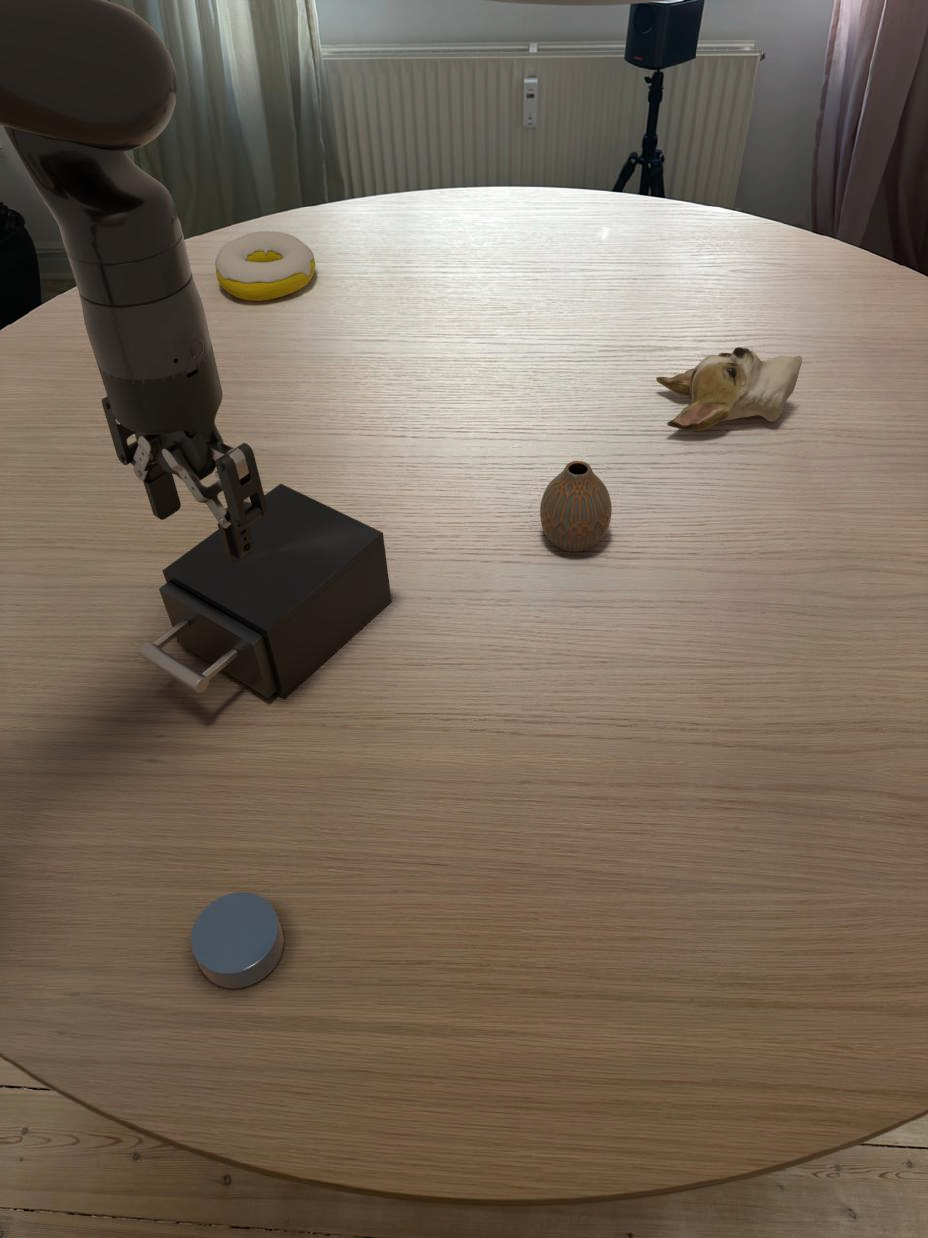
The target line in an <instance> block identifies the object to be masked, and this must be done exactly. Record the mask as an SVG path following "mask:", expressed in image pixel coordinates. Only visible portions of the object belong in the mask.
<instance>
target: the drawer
mask: <svg viewBox="0 0 928 1238" xmlns="http://www.w3.org/2000/svg"><path fill="white" fill-rule="evenodd" d="M158 591H159V593H160V597H161V599H162V602H163V605H164V608H165V610H166V613H167V616H168V619H169V622H170V625H171V628H170V629H169V630H167V631H166V632H165V633H164V634H163V635H161V636H160V637H159V638H157V639H156V640H155V641H153V643H152V642H150V641H146V642H144V643H143V644H142V645H141V646H139V647H140V648H139V649H138V656H140V657H141V658H142V659H144V660H146V661H147V662H149V663H150V664H152V665H153V666H155V667H157V668H158V669H159V670H161V671H163V672H164V673H165V674H167V675H168V676H170V677H172V678H173V679H175V680H176V681H178V682H180V683H181V684H183V685H184V686H186V687H187V688H189V689H190V690H192V691H194V692H195V693H197V694H202V693H203V692H205V691H206V690H207V689H208V687H209V684H210V680H211V679H213V678H214V677H215V676H216V675H217V674H218V673H220V672H221V671H223V672H224V673H226V674H228V675H230V676H231V677H233V678H234V679H236V680H238V681H239V682H241V683H242V684H244V685H246V686H247V687H248V688H251V689H252V690H254V691H255V692H257V693H258V694H260V695H261V696H263V697H265V698H266V699H269V698H270V697H271V696H272V695H274V694H275V693H274V692H275V691H277V686H276V682H275V679H274V675H273V671H272V667H271V664H270V660H269V656H268V652H267V649H266V645H265V641H264V637H263V635H262V633H260V632H258V631H257V630H255V629H253V628H251V627H250V626H248V625H246V624H244V623H243V622H241V621H239V620H238V619H236V618H234V617H232V616H231V615H229V614H227V613H226V612H224V611H222V610H220V609H219V608H217V607H215V606H213V605H212V604H210V603H208V602H207V601H205V600H203V599H201V598H200V597H198V596H196V595H195V594H193V593H192V594H193V595H192V594H191V593H189V592H187V591H185V590H184V589H182V588H180V587H178V586H177V585H175V584H173V583H172V582H170V581H169V582H167V583H165V584H163V585H162V586H161V587H159V588H158ZM174 639H176V642H177V643H178V644H180V645H181V646H183V647H184V648H186V649H188V650H189V651H190V652H192V653H193V654H195V655H197V656H199V657H200V658H202V659H204V660H205V661H207V662H208V663H210V664H211V665H210V666H208V668H207V669H205V671H203V672H202V673H199V672H198V671H197V670H195V669H194V668H192V667H190V666H188V665H187V664H185V663H183V662H182V661H180V660H179V659H177V658H176V657H174V656H173V655H171V654H170V653H168V652H166V651H165V650H163V648H165V646H167V645H168V644H169V643H170V642H171V641H173V640H174Z"/></svg>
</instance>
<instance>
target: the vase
mask: <svg viewBox="0 0 928 1238" xmlns="http://www.w3.org/2000/svg"><path fill="white" fill-rule="evenodd" d="M612 511H613V510H612V500H611V495H610V493H609V491H608V488H607V486H606V484H605V483H604V482H603V481H602V480H601V478H599V476H598V475H596V474H595V473H594V470H593V469H592V467H591V465H590V464H589V463H587V462H585V461H582V460H573V461H570V462H568V463H567V464H566V465H565V467H563V470H562V471H561V472H560V473H559V474H557V475H556V476H555V477H554V478H553V479H552V480H551V481H549V483H548V484H547V486H546V488H545V489H544V492H543V495H542V498H541V501H540V506H539V516H540V517H539V518H540V524H541V528H542V529H543V532H544V534H545V536H546V538H547V539H548V540H549V541H550V542H551V543H552V544H553V545H554V546H556V547H558V548H559V549H561V550H563V551H565V552H566V551H567V552H572V553H577V552H579V553H580V552H584V551H586V550H589V549H591V548H593V547H594V546H596V545H598V543H599V542H600V541H602V539H603V538H604V537H605V535H606V534H607V531H608V529H609V527H610V524H611V519H612Z"/></svg>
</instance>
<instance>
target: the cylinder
mask: <svg viewBox="0 0 928 1238" xmlns="http://www.w3.org/2000/svg"><path fill="white" fill-rule="evenodd" d="M284 946H285V936H284V932H283V929H282V925H281V922H280V920H279V916H278V914H277V912H276V910H275V908H274V906H273V905H272V904H271V903H270V902H269V901H268V900H267V899H265V898H264V897H263V896H261V895H259V894H256V893H252V892H246V891H239V892H231V893H228V894H225V895H223V896H220V897H219V898H216V899H215V900H213V901H211V902H210V903H209V904H208V905H206V906H205V908H204V909H202V910H201V912H200V914H199V915H198V917H197V918H196V919H195V922H194V923H193V926H192V928H191V933H190V947H191V948H190V949H191V951H192V954H193V956H194V959H195V961H196V962H197V964H198V967H199V968H200V970H201V972H202V973H203V975H204V976H205V977H206V979H207V980H208V981H209V982H211V983H213V984H214V985H216V986H218V987H221V988H224V989H233V990H234V989H244V988H247V987H250V986H253V985H255V984H257V983H259V982H261V981H262V980H264V979H265V978H266V977H267V976H268V975H269V974H271V973H272V971H273V970H274V968H276V966H277V965H278V963H279V961H280V960H281V957H282V954H283V951H284Z"/></svg>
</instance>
